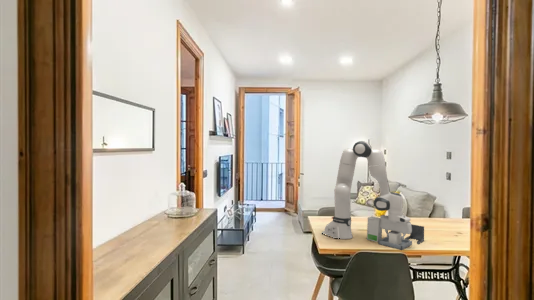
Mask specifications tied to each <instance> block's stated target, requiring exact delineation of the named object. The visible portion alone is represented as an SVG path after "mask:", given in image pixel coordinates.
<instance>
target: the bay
mask: <svg viewBox="0 0 534 300" xmlns="http://www.w3.org/2000/svg"><path fill="white" fill-rule="evenodd" d="M411 226H412V232H411V233H410V234H409V235H408V236H405V237H404V239H406V240H409V239H410V240H411V239H412V240H415V239H416V244H417V245H420V244H422V243H424V242H425V226H424V225H417V224H413V223H411Z"/></svg>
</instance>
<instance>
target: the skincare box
mask: <svg viewBox="0 0 534 300" xmlns="http://www.w3.org/2000/svg"><path fill="white" fill-rule="evenodd" d="M380 221H381V219H380V217H376V216H372V215H371V216H369V217H367V225H366V226H367V227H366V240H367V241H372V242H376V243H378V242H379V240H381V239H383V229H381V228H380Z"/></svg>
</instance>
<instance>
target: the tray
mask: <svg viewBox="0 0 534 300" xmlns="http://www.w3.org/2000/svg"><path fill="white" fill-rule="evenodd" d="M377 243H378V245H380V246H385V247H387V248H388V247H389V248H392V249H396V250H399V251H404V250H405V249H407V248H409V247H410V246H412V245H413V241H412V240H411V239H410V240H406V239H405V238H404V240H402V243H401V244H399V245H397V244H393V243H389V237H388V236H387V235H386V236H385V237H382V239H381V240H379V242H377Z"/></svg>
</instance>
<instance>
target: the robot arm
mask: <svg viewBox="0 0 534 300" xmlns="http://www.w3.org/2000/svg"><path fill="white" fill-rule="evenodd" d="M371 145H372V144H370V143H369V142H367V141H365V140H360V141H357V142H355V143H354V145H353V147H352V148H345V149H343V150H342V154H341V156H340V160H339V166H338V171H337V177H336V184H335V188H334V216H332V217H331V219H332V221H330V222H329V223H328V224H326V225H325V226H324V227H325V228H324V230H323V231H322V232H321V234H322V233H323V234H326V235H328V236H327V237H329V236H331V237H333V238H332V239H334V238H338V239H337V240H349V239H353V234H352V233H353V232H352V216H351V207H352V206H351V200H352V199H351V191H352V190H351V189H352V185H353V180H354V175H355V170H356V164H357V160H358V158H365V159H367V165H368V170H369V171H368V172H369V174H370V176H371V177H372V178H373V179H375V180H376V181H377V183H378V186H379V191H380V196H378V197H376V198H375V199H374V200H373V206H374V208H375V209H376V210H377V211H380V212H385V211H387V212H388V213H387V215H385V214H382V215H380V217H379V218H380V219H381V221H380V228H381V229H382V230H384V231H385V234H386V237H387V236H388V237H389V231H396V232H400V233H402V236H401V239H402V240H404V239H405V237H406V235H410V233H411V232H412V226H411V224H412V223H411V218H410V217H409V216H406V215H404V214H403V206H404V205H403V203H404V202H403V196H402V195H401V194H400V193H399V192H393V191H391V190H390V185H389V183H390V182H389V181H388V175H387V165H386V160H385V157H384V154H383V151H382V150H380V149H377V148H376V149H373V148H372V146H371ZM323 234H322V235H323ZM326 235H325V236H326ZM331 237H330V238H331ZM339 238H340V239H339Z"/></svg>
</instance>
